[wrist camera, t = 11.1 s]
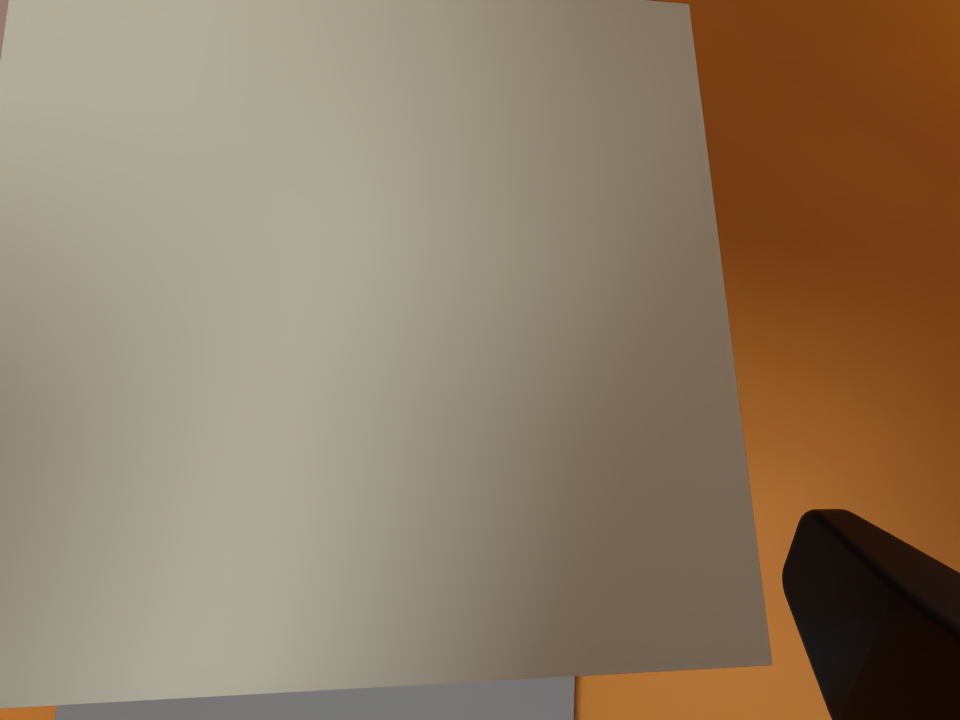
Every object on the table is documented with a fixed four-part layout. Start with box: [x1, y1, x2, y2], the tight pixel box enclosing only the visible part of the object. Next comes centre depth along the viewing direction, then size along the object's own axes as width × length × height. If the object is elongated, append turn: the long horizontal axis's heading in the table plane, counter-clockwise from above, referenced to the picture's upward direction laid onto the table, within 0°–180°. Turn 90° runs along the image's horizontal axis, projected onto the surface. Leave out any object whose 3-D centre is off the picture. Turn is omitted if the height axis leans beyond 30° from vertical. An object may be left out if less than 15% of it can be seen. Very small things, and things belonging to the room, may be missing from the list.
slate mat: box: [55, 676, 575, 720], centre depth 18 cm, size 10×10×1 cm
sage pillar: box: [0, 0, 772, 708], centre depth 12 cm, size 6×6×12 cm
